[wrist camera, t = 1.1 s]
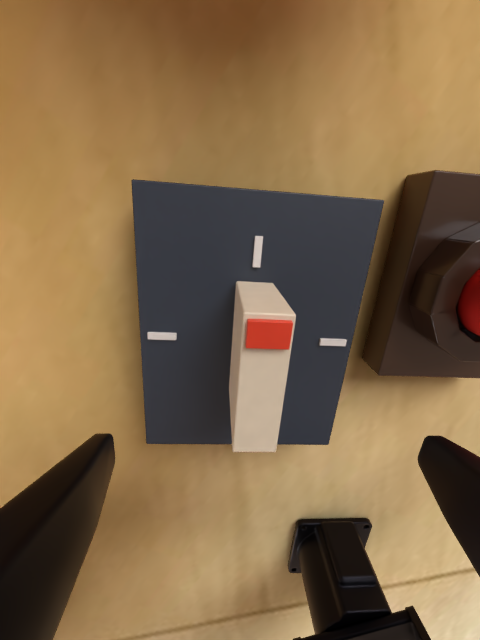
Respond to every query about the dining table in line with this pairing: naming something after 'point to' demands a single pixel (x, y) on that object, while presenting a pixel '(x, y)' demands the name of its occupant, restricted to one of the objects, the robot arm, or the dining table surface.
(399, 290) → the button block
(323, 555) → the robot arm
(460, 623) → the dining table surface
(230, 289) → the control panel
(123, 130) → the dining table surface
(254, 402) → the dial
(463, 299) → the button
